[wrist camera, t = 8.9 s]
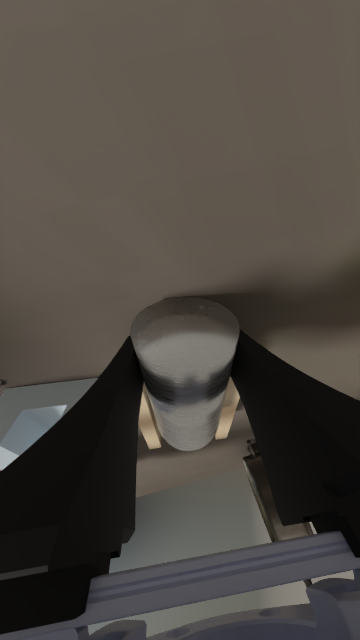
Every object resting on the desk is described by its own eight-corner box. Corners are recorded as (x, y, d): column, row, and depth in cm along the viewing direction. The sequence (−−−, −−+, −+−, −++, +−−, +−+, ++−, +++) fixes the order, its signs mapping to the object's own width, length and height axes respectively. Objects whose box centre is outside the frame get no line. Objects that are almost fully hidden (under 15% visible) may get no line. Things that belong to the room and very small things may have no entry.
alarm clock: (237, 440, 25) (325, 695, 12) (271, 432, 25) (399, 686, 12) (240, 458, 31) (299, 638, 18) (267, 452, 31) (347, 631, 18)
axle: (209, 380, 15) (229, 444, 11) (156, 387, 15) (156, 457, 10) (218, 293, 10) (263, 354, 6) (136, 301, 9) (121, 373, 5)
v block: (131, 419, 18) (125, 467, 14) (57, 429, 17) (33, 481, 14) (110, 376, 13) (93, 432, 10) (6, 388, 12) (-47, 451, 9)
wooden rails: (219, 413, 19) (226, 437, 17) (150, 422, 18) (149, 449, 16) (233, 348, 13) (247, 375, 11) (128, 359, 12) (122, 390, 10)
